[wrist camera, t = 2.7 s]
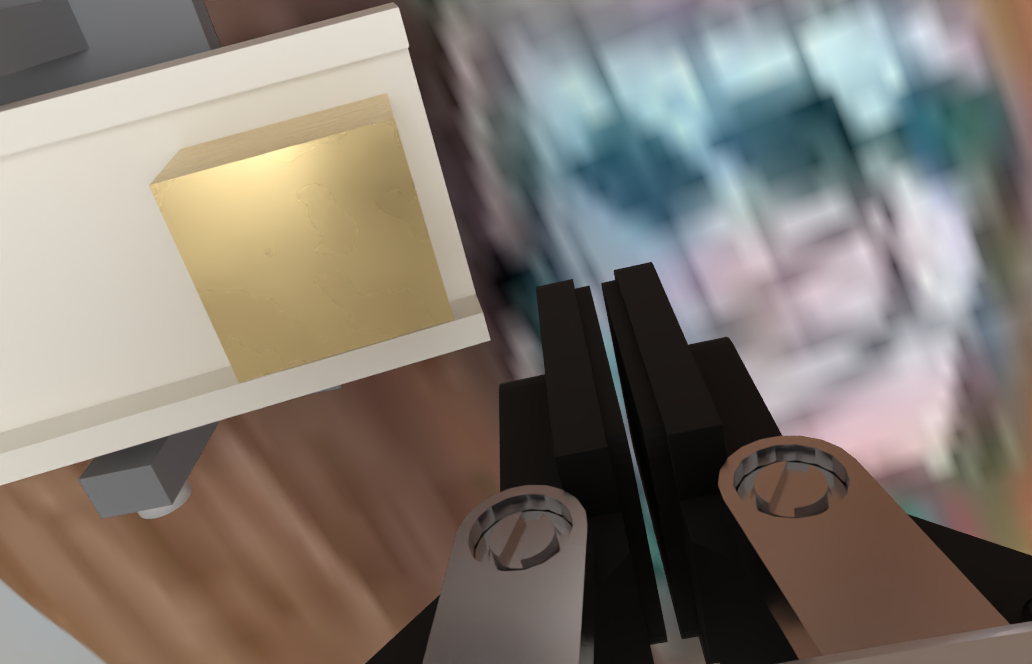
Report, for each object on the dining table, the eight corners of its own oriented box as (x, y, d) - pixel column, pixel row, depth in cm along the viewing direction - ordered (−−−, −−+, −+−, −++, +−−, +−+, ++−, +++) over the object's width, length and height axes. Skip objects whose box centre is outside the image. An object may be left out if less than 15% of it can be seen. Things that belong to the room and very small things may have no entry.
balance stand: (174, -76, 25) (34, -72, 18) (346, 375, 33) (299, 511, 25) (-112, 0, 26) (-361, 35, 19) (120, 422, 34) (11, 567, 26)
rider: (386, 92, 23) (394, 118, 19) (438, 268, 25) (454, 319, 22) (180, 148, 22) (148, 185, 19) (254, 322, 25) (238, 383, 21)
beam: (387, -5, 26) (398, 7, 21) (463, 268, 31) (490, 340, 25) (-365, 192, 25) (-582, 265, 19) (-167, 450, 29) (-293, 571, 23)
